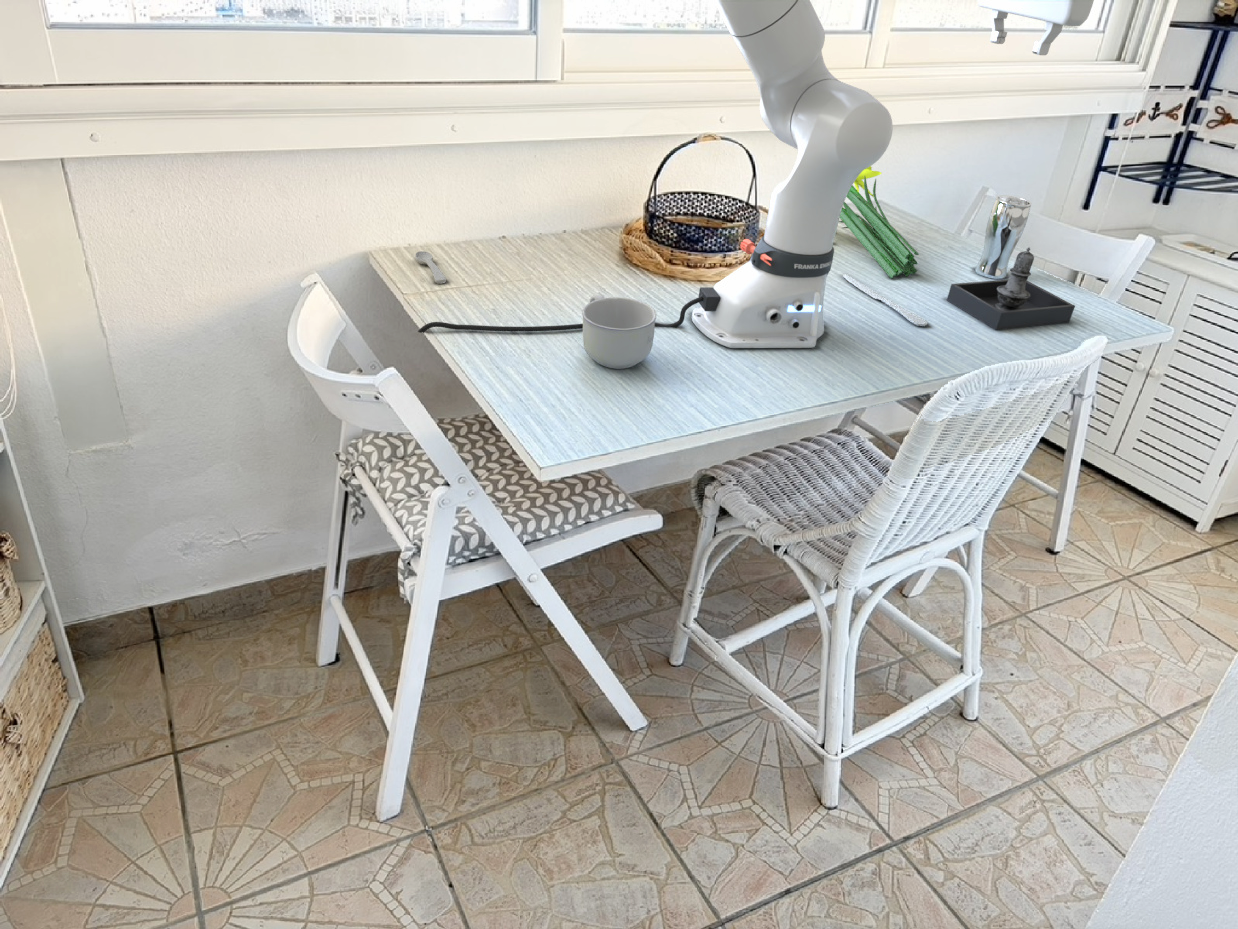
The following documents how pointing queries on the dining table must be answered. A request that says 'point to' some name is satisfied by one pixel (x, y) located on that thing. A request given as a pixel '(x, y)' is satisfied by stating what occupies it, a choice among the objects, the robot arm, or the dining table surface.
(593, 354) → the teacup
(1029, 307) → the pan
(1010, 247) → the beer glass
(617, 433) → the dining table surface
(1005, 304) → the salt shaker
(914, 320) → the butter knife
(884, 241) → the daffodil flowers
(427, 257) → the spoon
